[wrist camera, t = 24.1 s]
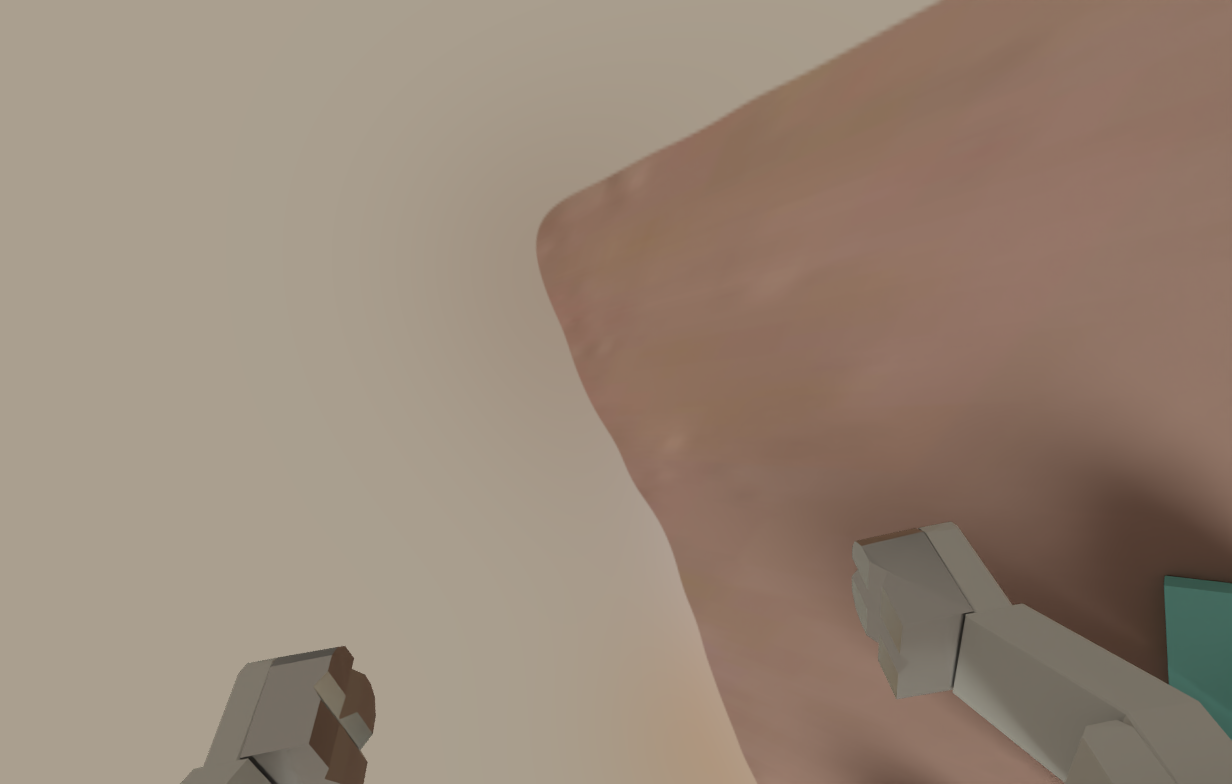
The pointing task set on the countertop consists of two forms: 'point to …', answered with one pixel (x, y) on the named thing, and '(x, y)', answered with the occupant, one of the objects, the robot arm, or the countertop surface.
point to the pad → (1201, 643)
